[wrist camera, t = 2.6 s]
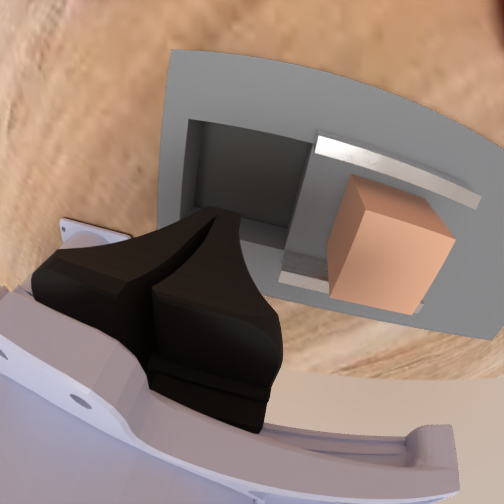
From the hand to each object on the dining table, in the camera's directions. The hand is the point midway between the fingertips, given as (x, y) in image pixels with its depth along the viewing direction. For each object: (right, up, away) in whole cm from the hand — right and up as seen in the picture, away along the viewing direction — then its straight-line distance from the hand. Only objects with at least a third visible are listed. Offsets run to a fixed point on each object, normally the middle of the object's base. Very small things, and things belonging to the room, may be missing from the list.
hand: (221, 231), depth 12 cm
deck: (+11, +2, +6) cm, 12 cm away
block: (+8, +1, +4) cm, 9 cm away
